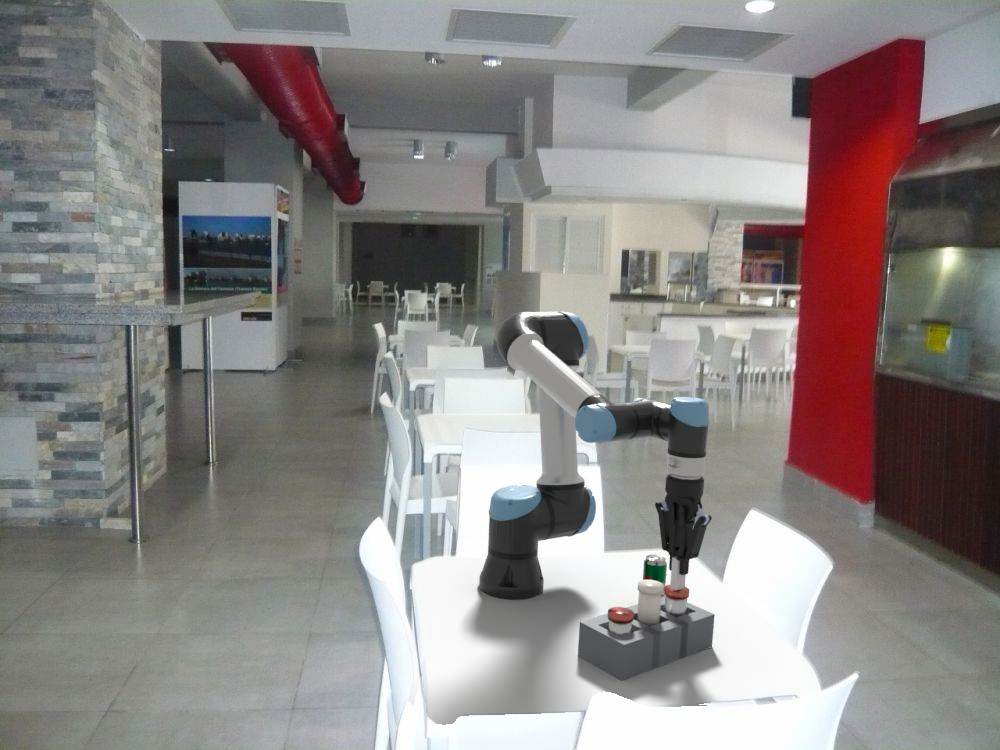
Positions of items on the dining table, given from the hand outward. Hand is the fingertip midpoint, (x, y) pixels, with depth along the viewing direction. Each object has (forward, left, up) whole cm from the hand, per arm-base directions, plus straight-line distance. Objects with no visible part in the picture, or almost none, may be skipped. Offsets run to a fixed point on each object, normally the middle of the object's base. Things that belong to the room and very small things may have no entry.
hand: (677, 587), depth 178 cm
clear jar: (0, 0, -9) cm, 9 cm away
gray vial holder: (0, -8, -12) cm, 14 cm away
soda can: (-14, +9, -12) cm, 20 cm away
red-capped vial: (0, -16, -11) cm, 19 cm away
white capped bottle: (0, -8, -7) cm, 10 cm away
